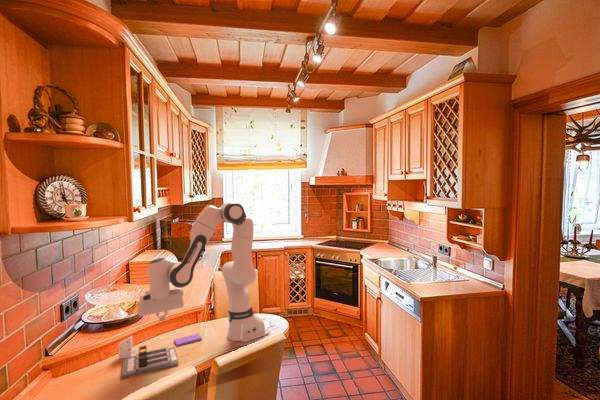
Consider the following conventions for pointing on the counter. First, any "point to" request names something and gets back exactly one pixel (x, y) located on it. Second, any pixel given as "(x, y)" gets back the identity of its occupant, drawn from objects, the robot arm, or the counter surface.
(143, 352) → the breaker
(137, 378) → the counter surface
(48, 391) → the counter surface
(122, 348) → the white angled block
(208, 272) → the counter surface
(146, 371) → the breaker panel
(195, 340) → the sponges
